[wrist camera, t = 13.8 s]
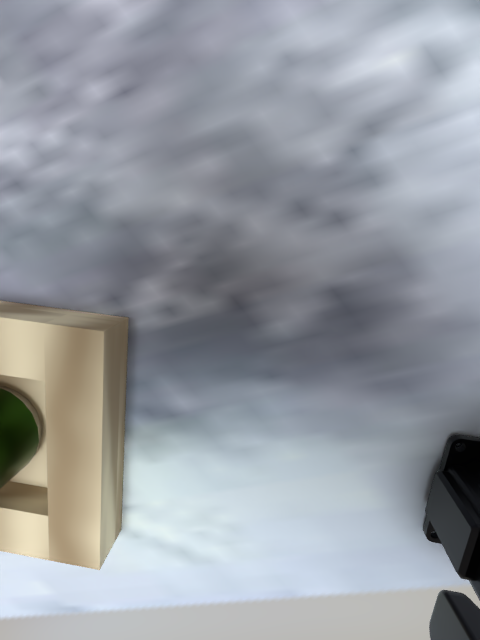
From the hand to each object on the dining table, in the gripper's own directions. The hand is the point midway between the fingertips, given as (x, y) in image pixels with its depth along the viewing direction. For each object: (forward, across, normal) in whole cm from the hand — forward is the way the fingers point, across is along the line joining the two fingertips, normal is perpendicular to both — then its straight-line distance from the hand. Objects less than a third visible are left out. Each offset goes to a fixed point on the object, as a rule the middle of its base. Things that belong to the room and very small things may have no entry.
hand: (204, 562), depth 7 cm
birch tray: (+14, +14, +6) cm, 20 cm away
